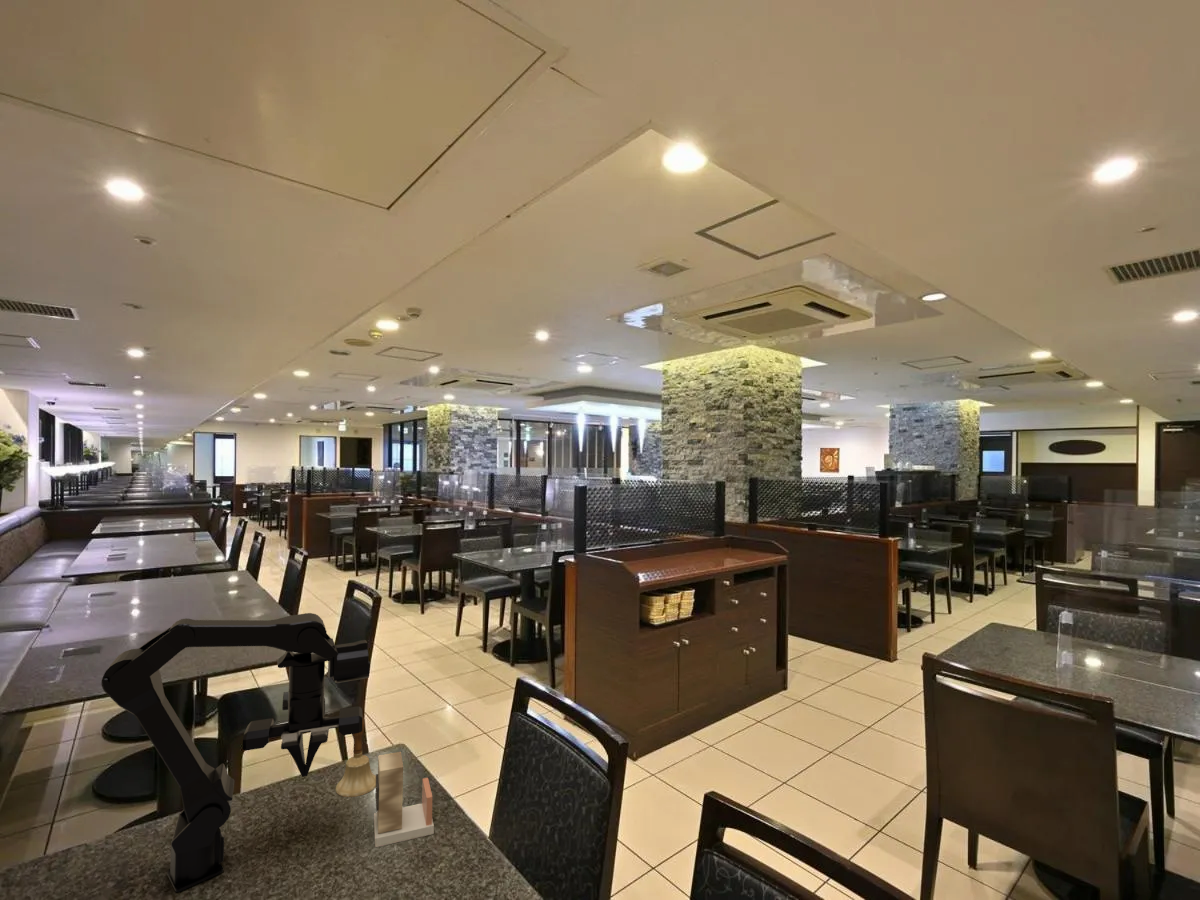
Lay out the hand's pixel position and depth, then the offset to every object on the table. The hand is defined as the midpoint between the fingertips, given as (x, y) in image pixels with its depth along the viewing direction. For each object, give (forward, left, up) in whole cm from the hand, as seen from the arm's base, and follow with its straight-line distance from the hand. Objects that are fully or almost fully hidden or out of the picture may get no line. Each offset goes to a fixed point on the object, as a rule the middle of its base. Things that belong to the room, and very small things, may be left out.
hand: (304, 775), depth 103 cm
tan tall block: (+12, -8, -10) cm, 18 cm away
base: (+14, -9, -12) cm, 21 cm away
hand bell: (+15, +11, -12) cm, 22 cm away
